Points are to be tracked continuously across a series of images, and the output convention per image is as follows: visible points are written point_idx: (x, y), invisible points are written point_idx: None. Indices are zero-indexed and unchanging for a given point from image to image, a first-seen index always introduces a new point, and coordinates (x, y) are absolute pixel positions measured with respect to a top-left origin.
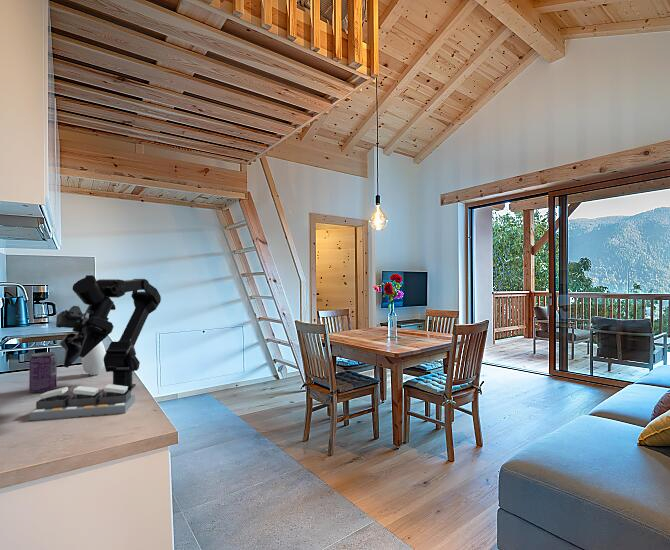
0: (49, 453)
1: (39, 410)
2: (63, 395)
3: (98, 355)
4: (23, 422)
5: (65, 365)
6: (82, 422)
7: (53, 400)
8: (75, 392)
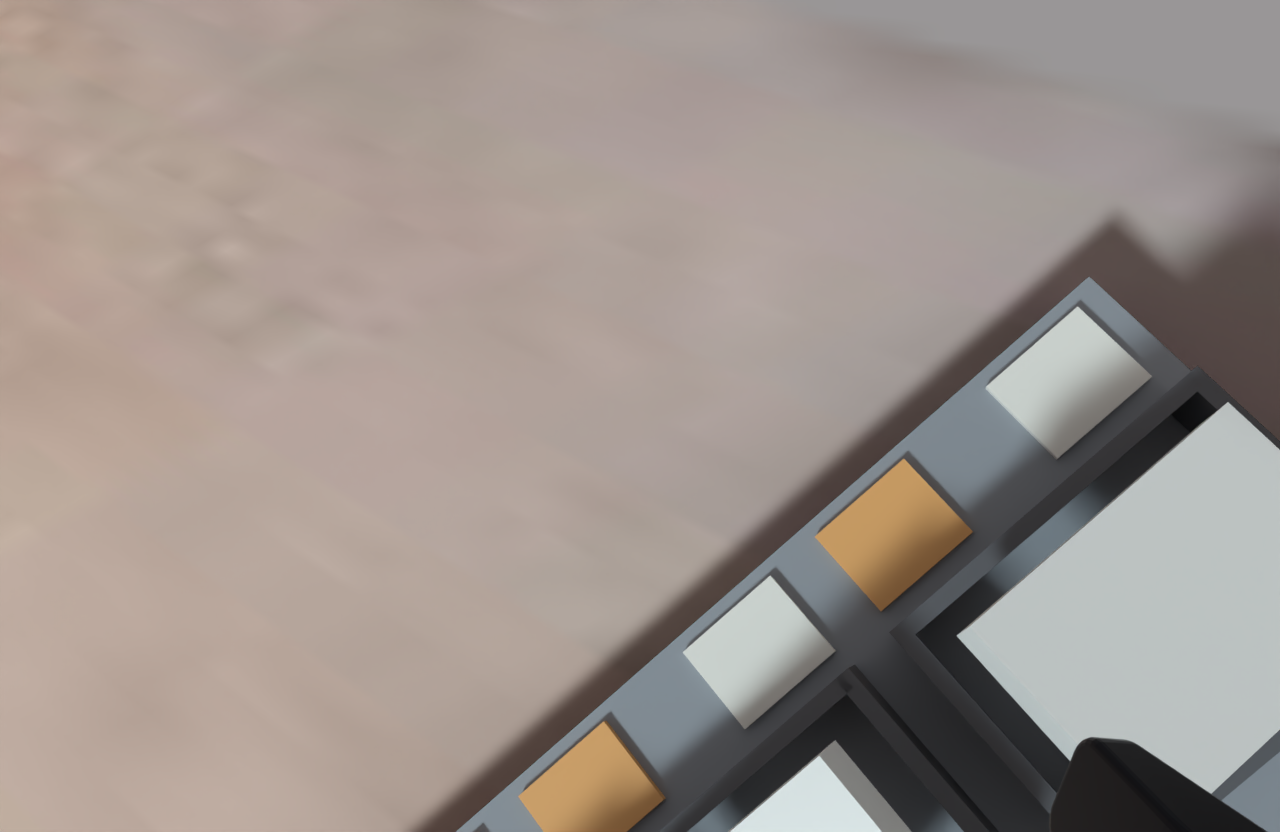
0: (64, 78)
1: (1044, 379)
2: None
3: None
4: (1072, 251)
5: (1078, 773)
6: (442, 581)
7: None
8: (801, 769)
